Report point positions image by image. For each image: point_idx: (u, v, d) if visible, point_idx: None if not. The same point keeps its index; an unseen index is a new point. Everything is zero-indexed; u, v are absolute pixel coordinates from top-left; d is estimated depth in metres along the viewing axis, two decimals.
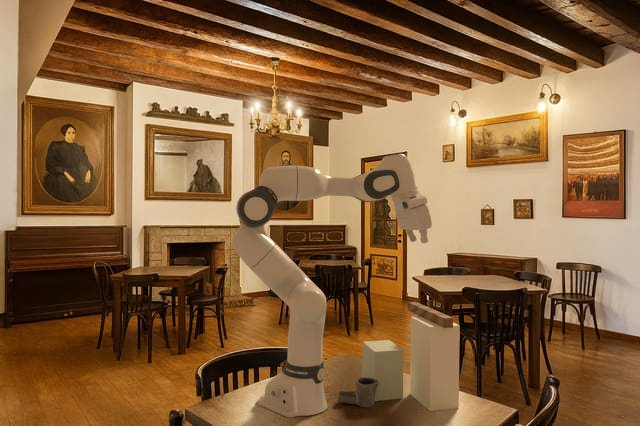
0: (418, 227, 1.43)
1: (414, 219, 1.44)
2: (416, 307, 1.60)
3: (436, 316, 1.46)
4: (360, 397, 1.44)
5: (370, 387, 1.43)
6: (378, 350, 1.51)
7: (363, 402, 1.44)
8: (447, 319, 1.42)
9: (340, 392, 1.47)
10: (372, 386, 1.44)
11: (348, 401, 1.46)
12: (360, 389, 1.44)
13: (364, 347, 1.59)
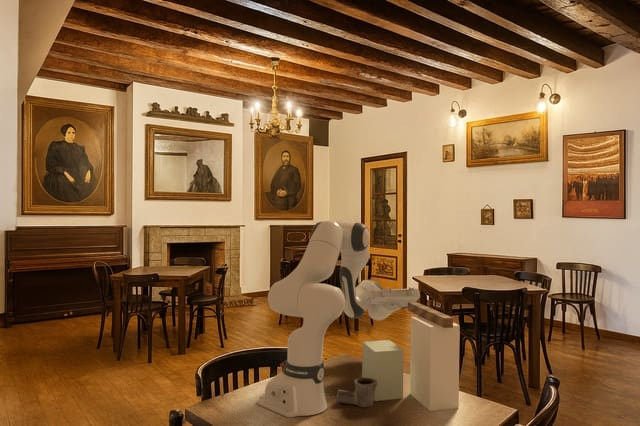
0: None
1: None
2: (416, 307, 1.60)
3: (436, 316, 1.46)
4: (359, 397, 1.44)
5: (369, 387, 1.43)
6: (378, 350, 1.51)
7: (362, 402, 1.44)
8: (447, 319, 1.42)
9: (339, 392, 1.47)
10: (371, 386, 1.44)
11: (347, 401, 1.46)
12: (359, 389, 1.44)
13: (364, 347, 1.59)
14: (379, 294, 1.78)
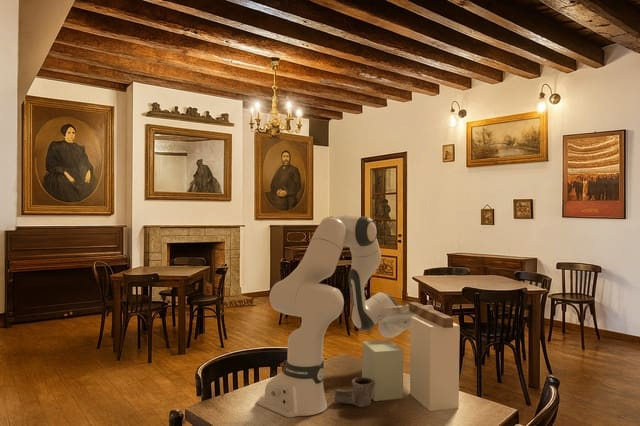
0: None
1: None
2: (416, 307, 1.60)
3: (436, 316, 1.46)
4: (356, 397, 1.44)
5: (366, 387, 1.43)
6: (378, 350, 1.51)
7: (360, 402, 1.44)
8: (447, 319, 1.42)
9: (337, 391, 1.47)
10: (368, 385, 1.44)
11: (344, 401, 1.46)
12: (356, 389, 1.44)
13: (364, 347, 1.59)
14: (391, 311, 1.66)
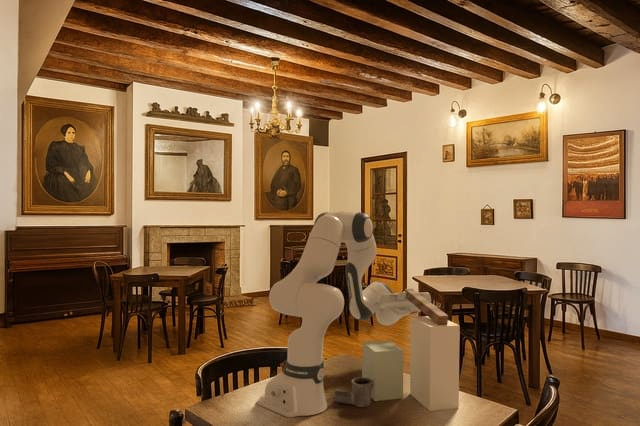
0: None
1: None
2: (413, 296, 1.63)
3: (432, 311, 1.49)
4: (356, 397, 1.44)
5: (365, 387, 1.43)
6: (378, 350, 1.51)
7: (359, 402, 1.44)
8: (442, 317, 1.45)
9: (336, 391, 1.47)
10: (368, 385, 1.44)
11: (344, 401, 1.46)
12: (355, 389, 1.44)
13: (364, 347, 1.59)
14: (388, 298, 1.69)
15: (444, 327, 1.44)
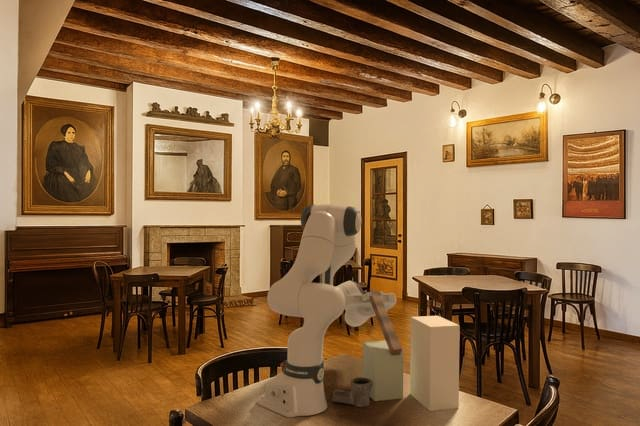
0: None
1: None
2: (375, 306, 1.63)
3: (388, 338, 1.52)
4: (354, 397, 1.45)
5: (364, 387, 1.43)
6: (378, 350, 1.51)
7: (358, 402, 1.44)
8: (396, 350, 1.48)
9: (335, 391, 1.47)
10: (366, 385, 1.44)
11: (343, 401, 1.46)
12: (354, 389, 1.44)
13: (364, 347, 1.59)
14: (353, 299, 1.69)
15: (444, 327, 1.44)
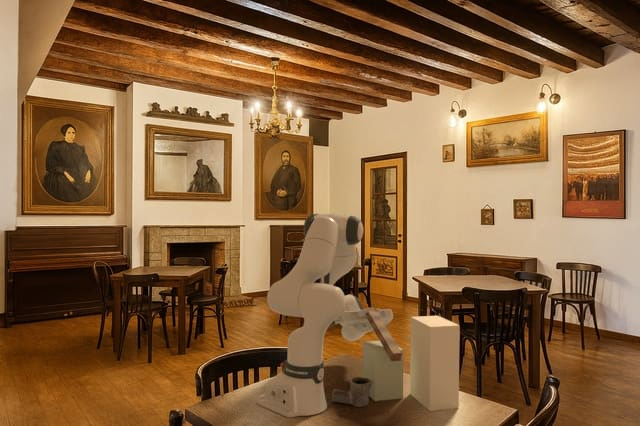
0: None
1: None
2: (372, 320, 1.62)
3: (387, 345, 1.49)
4: (354, 397, 1.45)
5: (363, 387, 1.44)
6: (378, 350, 1.51)
7: (357, 402, 1.44)
8: (396, 354, 1.45)
9: (334, 391, 1.47)
10: (366, 385, 1.44)
11: (342, 401, 1.46)
12: (354, 389, 1.44)
13: (364, 347, 1.59)
14: (349, 316, 1.69)
15: (444, 327, 1.44)
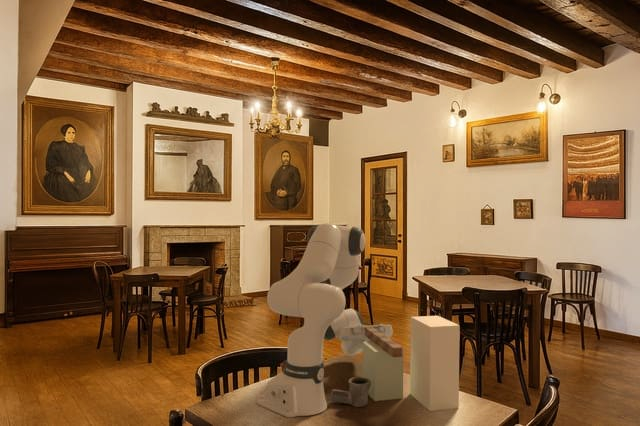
0: None
1: None
2: (371, 333, 1.62)
3: (387, 345, 1.49)
4: (353, 397, 1.45)
5: (362, 387, 1.44)
6: (378, 350, 1.51)
7: (356, 402, 1.44)
8: (396, 349, 1.44)
9: (333, 391, 1.47)
10: (365, 385, 1.44)
11: (341, 400, 1.46)
12: (352, 389, 1.44)
13: (364, 347, 1.59)
14: (349, 331, 1.69)
15: (444, 327, 1.44)
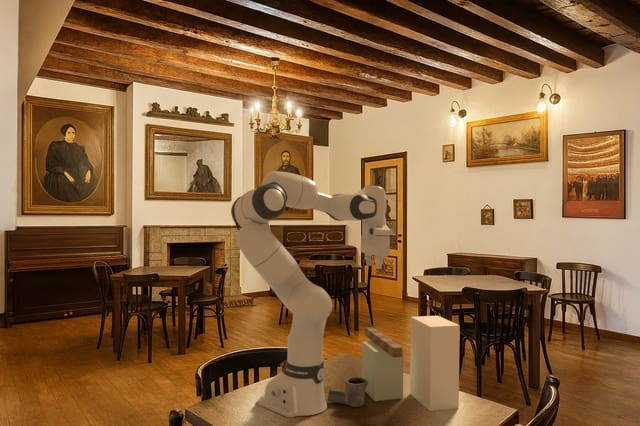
0: (376, 253, 1.62)
1: (375, 245, 1.63)
2: (371, 333, 1.62)
3: (387, 345, 1.49)
4: (349, 397, 1.45)
5: (359, 387, 1.44)
6: (378, 350, 1.51)
7: (352, 402, 1.44)
8: (396, 349, 1.44)
9: (330, 391, 1.47)
10: (361, 385, 1.44)
11: (337, 400, 1.46)
12: (349, 388, 1.44)
13: (364, 347, 1.59)
14: None
15: (444, 327, 1.44)
